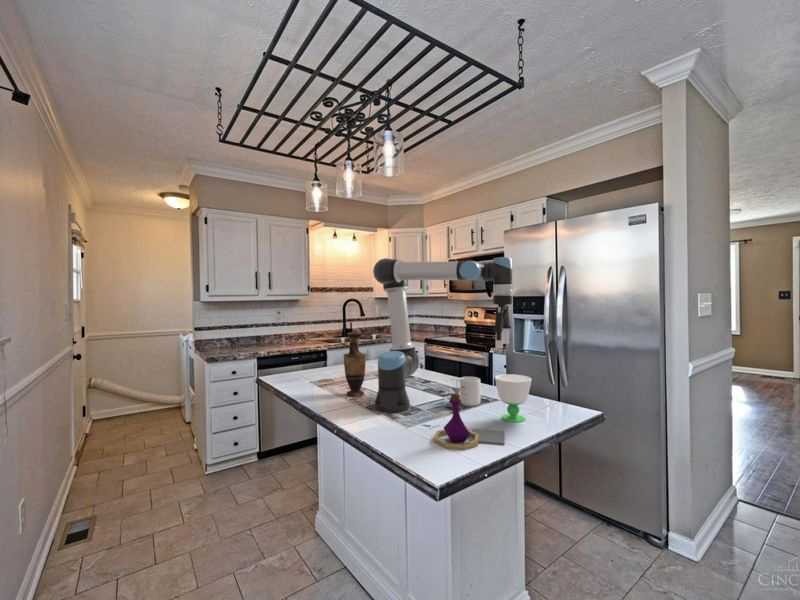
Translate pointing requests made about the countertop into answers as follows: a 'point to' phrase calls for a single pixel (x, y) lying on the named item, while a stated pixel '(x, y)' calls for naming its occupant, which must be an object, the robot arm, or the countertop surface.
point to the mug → (469, 390)
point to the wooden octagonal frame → (456, 445)
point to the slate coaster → (489, 436)
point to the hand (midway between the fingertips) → (502, 346)
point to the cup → (513, 394)
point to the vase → (354, 366)
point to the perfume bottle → (456, 421)
